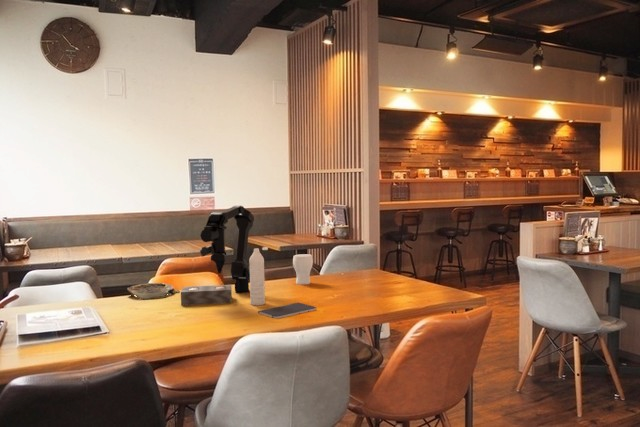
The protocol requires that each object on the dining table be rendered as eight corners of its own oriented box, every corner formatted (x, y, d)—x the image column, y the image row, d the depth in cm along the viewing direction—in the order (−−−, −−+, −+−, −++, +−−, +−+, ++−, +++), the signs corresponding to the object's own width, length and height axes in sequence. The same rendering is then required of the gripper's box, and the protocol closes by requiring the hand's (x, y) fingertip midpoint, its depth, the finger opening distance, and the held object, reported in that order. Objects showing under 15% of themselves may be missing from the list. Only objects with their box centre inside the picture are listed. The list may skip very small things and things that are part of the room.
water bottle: (254, 306, 233) (252, 249, 232) (248, 303, 239) (246, 248, 237) (272, 303, 238) (270, 248, 236) (265, 300, 244) (264, 246, 242)
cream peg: (199, 300, 247) (198, 287, 246) (198, 302, 242) (197, 289, 242) (189, 300, 246) (189, 288, 246) (188, 302, 242) (188, 290, 241)
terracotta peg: (225, 298, 248) (225, 286, 248) (225, 301, 244) (224, 288, 244) (215, 299, 248) (215, 287, 247) (215, 301, 243) (214, 289, 243)
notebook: (298, 306, 235) (258, 314, 221) (298, 302, 235) (258, 310, 221) (317, 310, 225) (276, 320, 212) (316, 307, 225) (276, 316, 211)
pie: (117, 302, 247) (117, 292, 247) (122, 292, 273) (122, 282, 273) (179, 298, 254) (179, 288, 254) (179, 288, 281) (178, 278, 280)
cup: (290, 284, 280) (289, 256, 279) (297, 281, 290) (296, 253, 289) (309, 285, 277) (309, 257, 276) (315, 281, 287) (315, 254, 286)
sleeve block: (231, 297, 253) (231, 284, 252) (231, 302, 241) (230, 289, 240) (184, 299, 250) (183, 286, 249) (181, 305, 238) (180, 292, 237)
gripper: (202, 238, 252) (203, 270, 253) (198, 242, 234) (199, 277, 235) (226, 237, 254) (226, 269, 255) (224, 241, 235) (225, 276, 236)
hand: (219, 273), depth 245 cm, fingers closed
